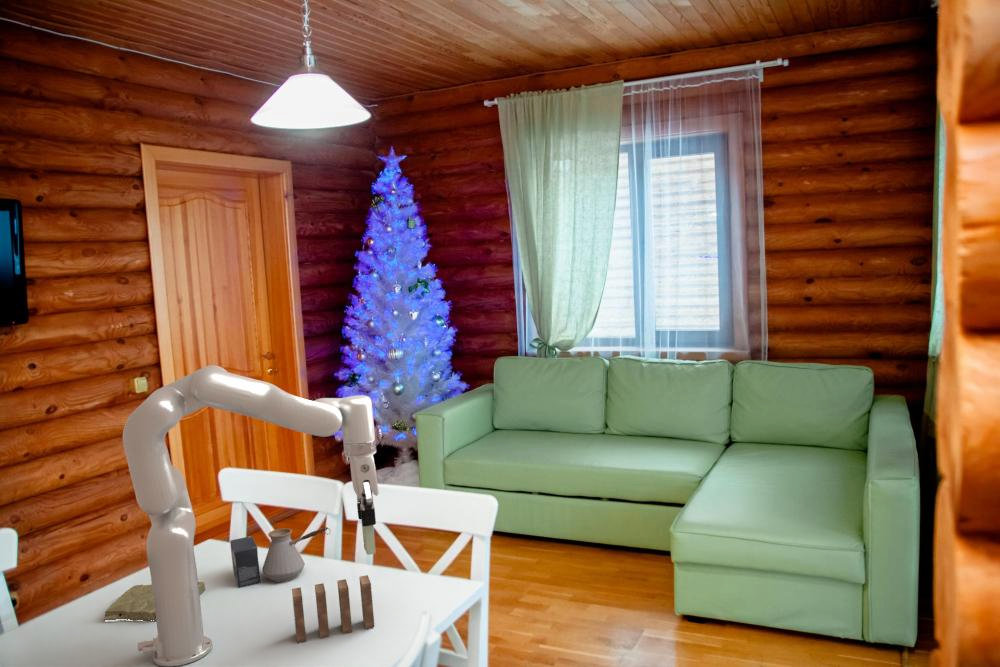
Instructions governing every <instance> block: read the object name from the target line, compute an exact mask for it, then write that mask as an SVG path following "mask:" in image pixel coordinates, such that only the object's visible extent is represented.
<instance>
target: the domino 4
mask: <svg viewBox="0 0 1000 667" xmlns="http://www.w3.org/2000/svg"><path fill="white" fill-rule="evenodd" d="M360 509H361V510H362V506H361V505H360ZM360 520H361V521H362V518H361V519H360ZM361 527H362V528H361V529H362V539H363V549H364V551H365V553H366V554H367V556H369V555H375V554H377V551H376V540H375V529H374V525H370V526H365V527H363V526H362V525H361Z"/></svg>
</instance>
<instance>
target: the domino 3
mask: <svg viewBox="0 0 1000 667" xmlns="http://www.w3.org/2000/svg"><path fill="white" fill-rule="evenodd" d="M336 581H337V592H338V603H339V617H340V626H341V629H342V633H343V634H342V635H346V634H349V633H350V634H351V633H353V625H352V616H351V615H352V614H351V603H350V602H351V601H350V591H349V590H350V588H349V585H348V581H347V579H339V580H336Z"/></svg>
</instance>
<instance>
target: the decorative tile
mask: <svg viewBox="0 0 1000 667" xmlns="http://www.w3.org/2000/svg"><path fill="white" fill-rule="evenodd" d="M205 585H206V584H205V582H204V581H198V586H199V596H200V595H201V596H202V595H203V594H204V593H205V591H206V586H205ZM201 596H200V597H201ZM116 619H127V620H128V619H130V620H143V621H146V622H148V621H150V622H156V613H155V604H154V596H153V589H152V584H135V585H133V586H132V587H129V589H127V590H126V591H124V593H122V594H121V595H120V596H119V597H118V598H116V600H115V601H114V602H112V603H111V604H110V605H109V607H108V608H107V609H106V610H105V611H104V618H103V622H104V621H105V620H116ZM151 620H152V621H151ZM153 620H154V621H153Z"/></svg>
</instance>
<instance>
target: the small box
mask: <svg viewBox="0 0 1000 667" xmlns="http://www.w3.org/2000/svg"><path fill="white" fill-rule="evenodd" d="M230 552H231V564H232V571H233V575H234V578H235V582H236V584H237V588H238V589H241V588H245V587H250V586H254V585H258V584H261V583H262V578H261V571H260V563H259V557H258V556H259V554H258V546H257V544H256V541H255V540H254V537H253V536H252V535H250V536H245V537H241V538H235V539H232V540H230Z"/></svg>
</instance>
